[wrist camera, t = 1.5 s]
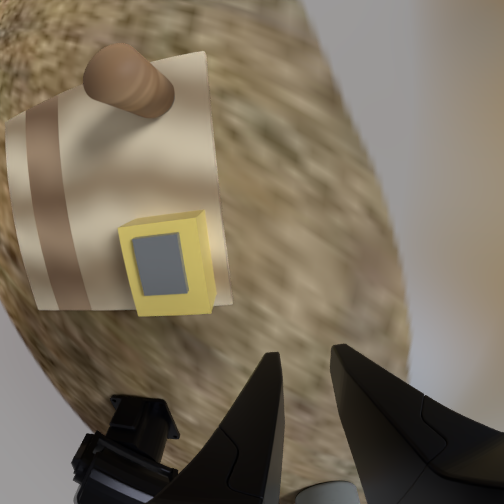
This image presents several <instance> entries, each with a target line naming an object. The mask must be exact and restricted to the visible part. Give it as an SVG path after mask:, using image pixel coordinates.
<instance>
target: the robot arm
mask: <svg viewBox="0 0 504 504" xmlns="http://www.w3.org/2000/svg"><path fill="white" fill-rule="evenodd" d="M330 373H331V378H332V383H333V388H334V393H335V398H336V403H337V408H338V413H339V416H340V420H341V423H342V426H343V429H344V432H345V435H346V438H347V441H348V444H349V447H350V450H351V453H352V456H353V459H354V462H355V465H356V468H357V471H358V474H359V478H360V481H361V484H362V487H363V490H364V493H365V497H366V500H367V503H368V504H504V432H500V431H497V430H495V429H492V428H490V427H488V426H485V425H483V424H481V423H478V422H476V421H474V420H472V419H469V418H467V417H465V416H463V415H461V414H459V413H457V412H455V411H453V410H451V409H449V408H447V407H445V406H443V405H442V404H440V403H438V402H437V401H435V400H433V399H432V398H430V397H428V396H427V395H425V396H424V394H423V393H422V392H420V391H418V390H417V389H415V388H414V387H412V386H411V385H409V384H407V383H406V382H404V381H403V380H401V379H399V378H398V377H396V376H395V375H393V374H392V373H390V372H388V371H387V370H385V369H384V368H382V367H381V366H379V365H378V364H376V363H374V362H373V361H371V360H370V359H368V358H367V357H365V356H364V355H362V354H361V353H359V352H358V351H356V350H354V349H353V348H351V347H350V346H348V345H347V344H338V345H333V346H332V348H331V359H330ZM110 400H111V402H112V404H113V406H114V408H115V410H116V411H115V413H114V415H113V417H112V420H111V422H110V427H109V429H108V431H107V433H106V435H103V434H101V432H99V431H98V430H96V432H95V434H88V433H87V434H86V436H85V437H84V439H83V441H82V443H81V445H80V447H79V449H78V451H77V453H76V454H75V456H74V458H73V460H72V462H71V464H72V466H73V468H74V474H75V476H74V478H73V481H75V482H77V483H79V484H80V485H79V487H78V489H77V492H76V494H75V496H74V504H279V494H280V483H281V471H282V458H283V444H284V428H285V417H284V395H283V376H282V367H281V360H280V354H279V352H269V353H265V354H264V356H263V357H262V359H261V361H260V362H259V364H258V366H257V367H256V369H255V370H254V372H253V374H252V375H251V377H250V378H249V380H248V382H247V383H246V385H245V386H244V388H243V389H242V391H241V393H240V394H239V396H238V397H237V399H236V400H235V402H234V403H233V405H232V407H231V408H230V410H229V411H228V413H227V414H226V416H225V417H224V419H223V420H222V422H221V423H220V425H219V427H218V428H217V429H216V430H215V432H214V433H213V435H212V436H211V438H210V439H209V440H208V442H207V443H206V444H205V446H204V447H203V448H202V449H201V451H200V452H199V453H198V454H197V455H196V456H195V457H194V458H193V460H192V461H191V462H190V463H189V464H188V465H187V466H186V467H185V468H184V469H183V470H182V471H181V472H180V473H179V474H178V470H177V469H174V468H170V467H167V466H165V465H163V464H160V462H161V459H162V455H163V451H164V448H165V444H166V441H167V439H179V438H180V433H179V431H178V429H177V427H176V424H175V422H174V420H173V418H172V415H171V413H170V411H169V408H168V406H167V403H166V402H165V401H164V400H161V399H148V398H136V397H125V396H116V395H112V396H111V398H110Z"/></svg>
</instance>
